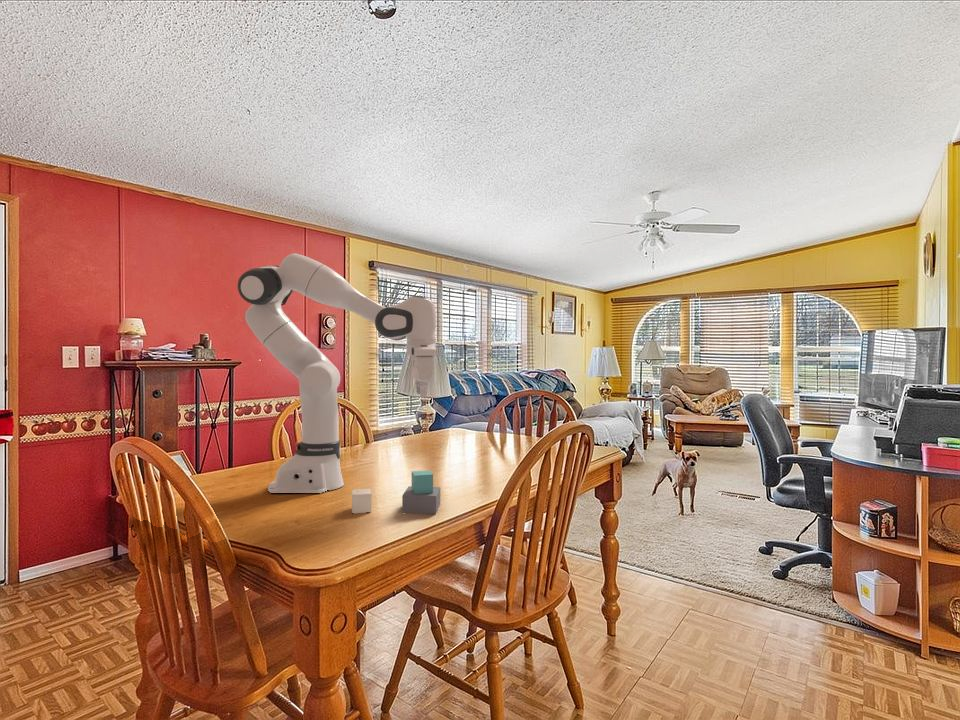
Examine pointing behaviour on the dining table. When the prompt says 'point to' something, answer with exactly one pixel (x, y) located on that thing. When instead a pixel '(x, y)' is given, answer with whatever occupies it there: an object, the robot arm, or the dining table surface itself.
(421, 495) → the charcoal base block
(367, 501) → the cream cube
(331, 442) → the robot arm
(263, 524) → the dining table surface
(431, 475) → the teal cube
